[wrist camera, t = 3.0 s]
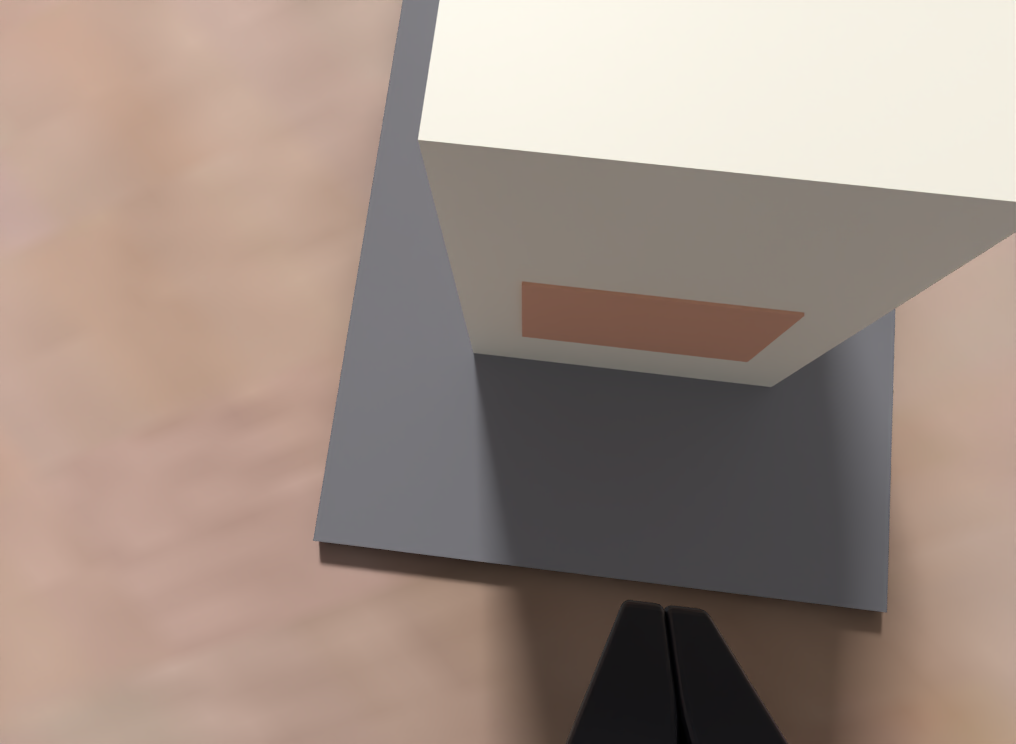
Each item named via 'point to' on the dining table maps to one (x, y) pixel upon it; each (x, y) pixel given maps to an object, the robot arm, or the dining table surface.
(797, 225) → the block
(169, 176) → the dining table surface
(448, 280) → the mat
